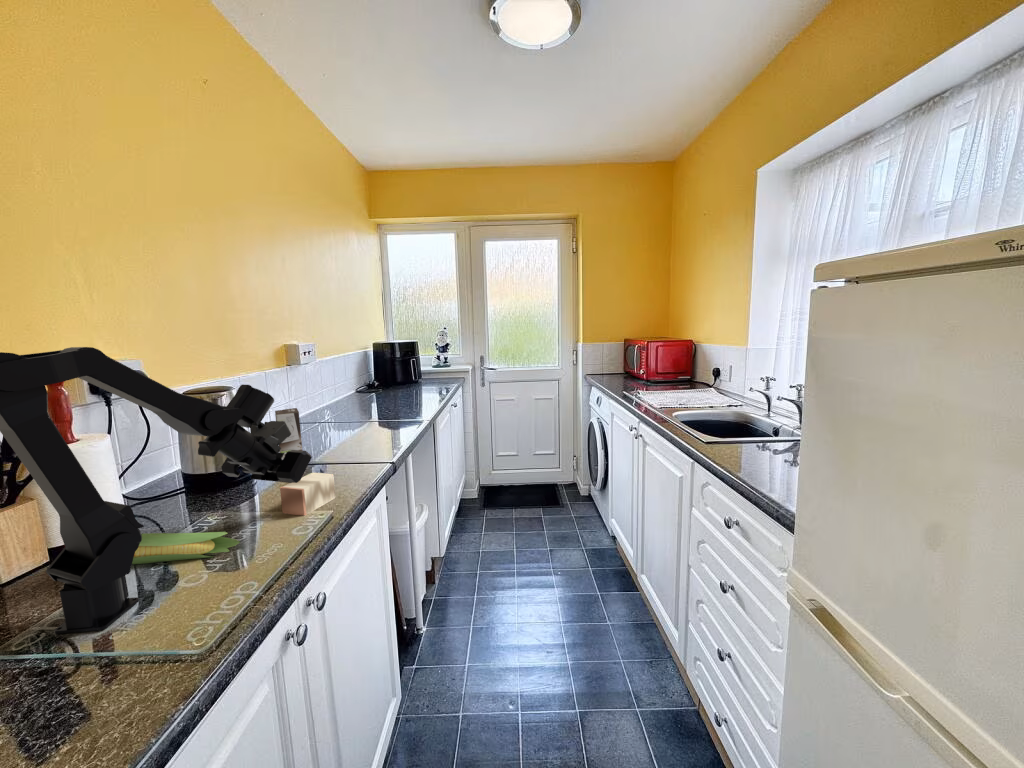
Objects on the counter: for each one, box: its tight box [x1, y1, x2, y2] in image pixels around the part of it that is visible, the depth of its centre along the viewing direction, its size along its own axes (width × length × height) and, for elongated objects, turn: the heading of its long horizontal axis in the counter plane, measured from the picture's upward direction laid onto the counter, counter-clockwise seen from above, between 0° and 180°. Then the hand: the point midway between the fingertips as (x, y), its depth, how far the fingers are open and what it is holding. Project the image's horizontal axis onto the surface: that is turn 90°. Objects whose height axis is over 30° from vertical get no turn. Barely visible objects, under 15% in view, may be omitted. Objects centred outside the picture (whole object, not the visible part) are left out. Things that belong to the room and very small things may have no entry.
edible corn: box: [132, 531, 241, 565], centre depth 76 cm, size 5×20×5 cm
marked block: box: [279, 472, 336, 517], centre depth 98 cm, size 6×6×10 cm
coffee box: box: [274, 407, 303, 454], centre depth 131 cm, size 9×6×16 cm
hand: (291, 480), depth 93 cm, fingers closed
